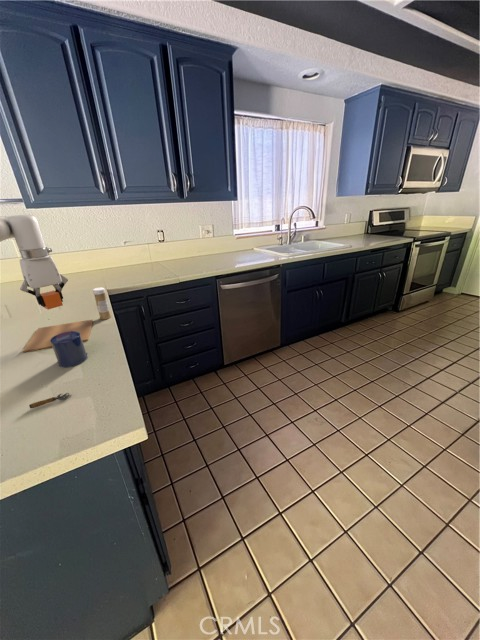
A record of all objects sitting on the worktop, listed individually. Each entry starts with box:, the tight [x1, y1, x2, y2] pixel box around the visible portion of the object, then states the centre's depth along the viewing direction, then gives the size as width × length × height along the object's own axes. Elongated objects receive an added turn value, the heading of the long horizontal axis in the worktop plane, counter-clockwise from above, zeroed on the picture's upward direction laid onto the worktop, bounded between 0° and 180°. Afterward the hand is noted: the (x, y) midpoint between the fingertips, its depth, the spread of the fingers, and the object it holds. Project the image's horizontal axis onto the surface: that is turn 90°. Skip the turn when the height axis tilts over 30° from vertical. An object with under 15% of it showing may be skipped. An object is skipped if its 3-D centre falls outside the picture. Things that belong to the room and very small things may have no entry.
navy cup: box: [50, 331, 89, 368], centre depth 84 cm, size 8×8×8 cm
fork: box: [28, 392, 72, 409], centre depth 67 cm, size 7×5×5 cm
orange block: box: [40, 290, 64, 310], centre depth 97 cm, size 5×5×5 cm
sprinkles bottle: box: [92, 287, 112, 320], centre depth 114 cm, size 5×5×13 cm
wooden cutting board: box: [22, 319, 94, 353], centre depth 103 cm, size 20×20×1 cm
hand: (51, 303), depth 98 cm, fingers closed on orange block, 5 cm apart
